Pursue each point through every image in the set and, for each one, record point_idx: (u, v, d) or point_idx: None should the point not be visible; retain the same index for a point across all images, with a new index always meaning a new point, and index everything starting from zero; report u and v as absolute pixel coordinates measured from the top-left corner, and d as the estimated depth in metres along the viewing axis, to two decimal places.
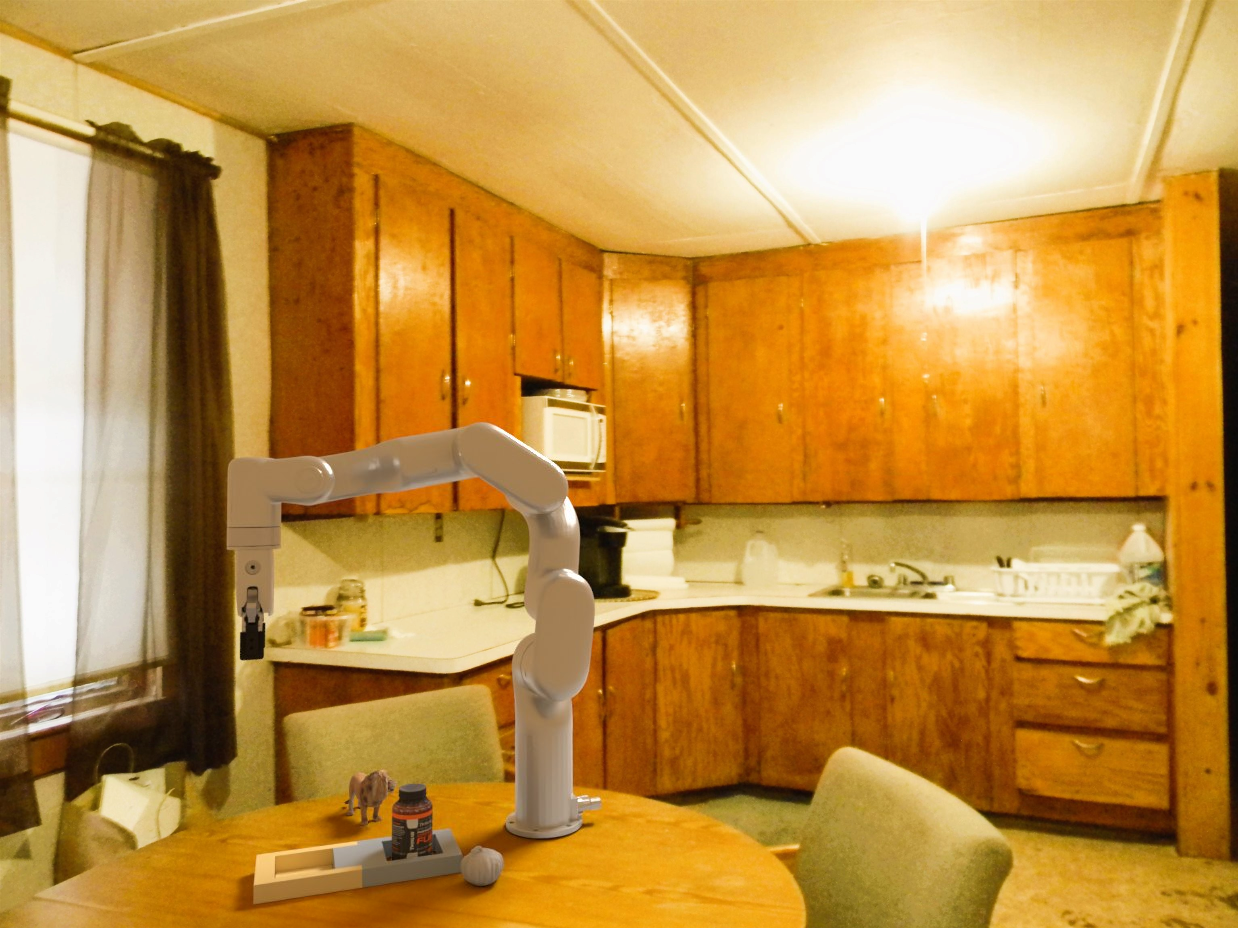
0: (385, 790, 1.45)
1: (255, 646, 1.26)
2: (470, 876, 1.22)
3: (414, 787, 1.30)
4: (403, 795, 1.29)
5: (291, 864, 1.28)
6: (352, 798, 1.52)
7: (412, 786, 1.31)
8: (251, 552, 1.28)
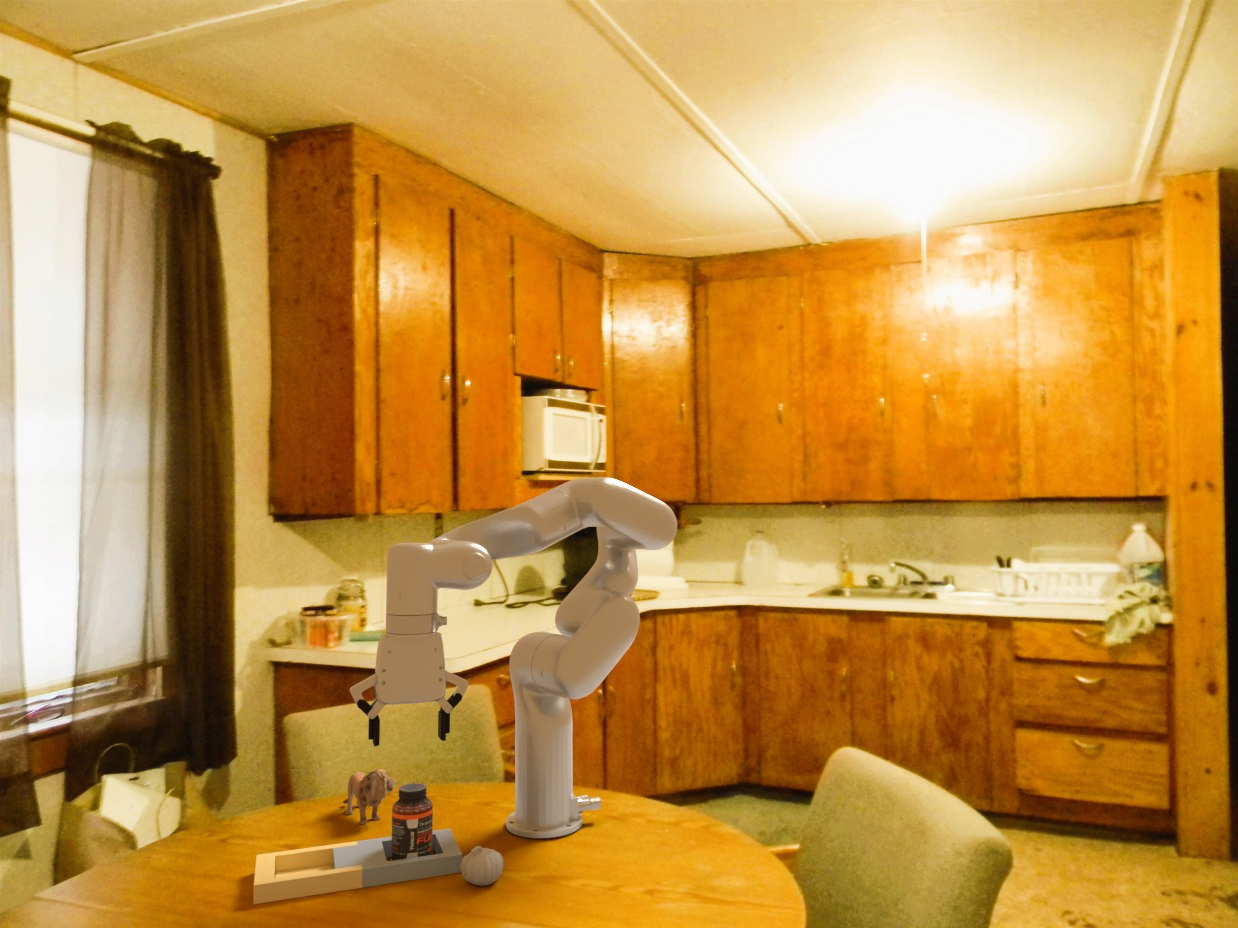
0: (384, 789, 1.46)
1: None
2: (470, 876, 1.22)
3: (414, 787, 1.30)
4: (403, 795, 1.29)
5: (291, 864, 1.28)
6: (351, 797, 1.52)
7: (412, 786, 1.31)
8: None
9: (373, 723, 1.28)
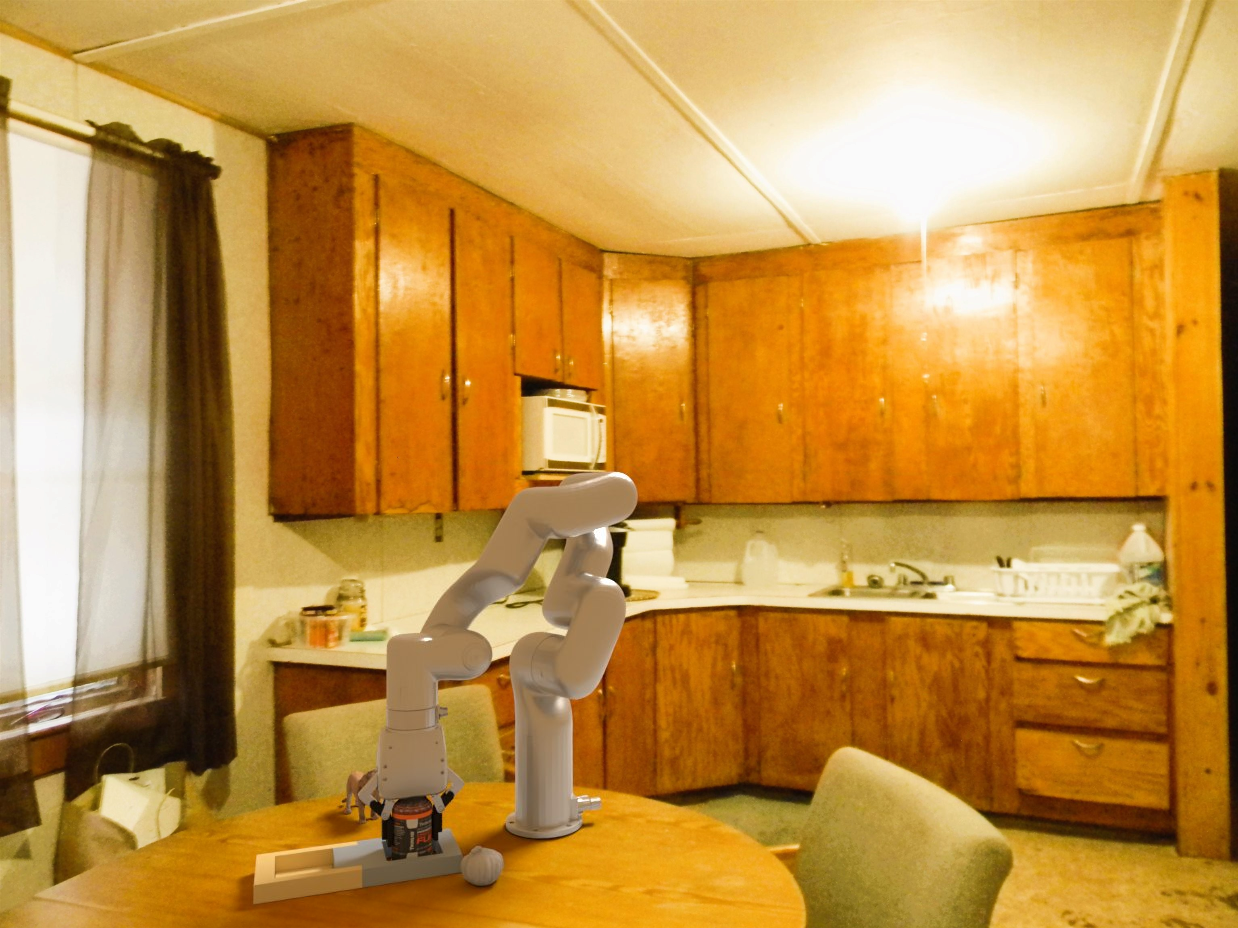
0: None
1: None
2: (470, 876, 1.22)
3: None
4: None
5: (291, 864, 1.28)
6: (349, 797, 1.53)
7: None
8: None
9: (386, 824, 1.28)
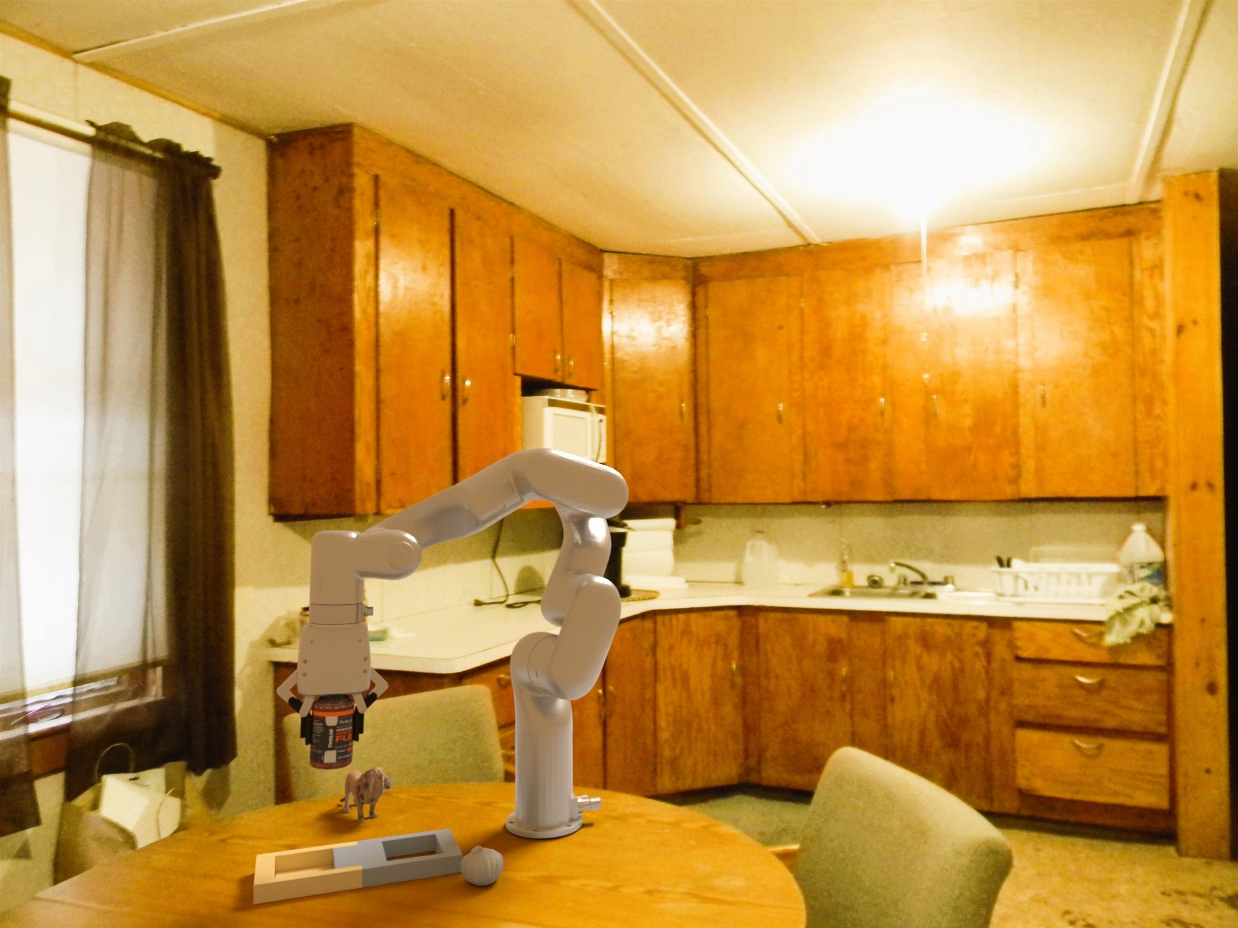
0: (382, 787, 1.47)
1: None
2: (470, 876, 1.22)
3: None
4: None
5: (291, 864, 1.28)
6: (348, 796, 1.53)
7: None
8: None
9: (305, 721, 1.25)
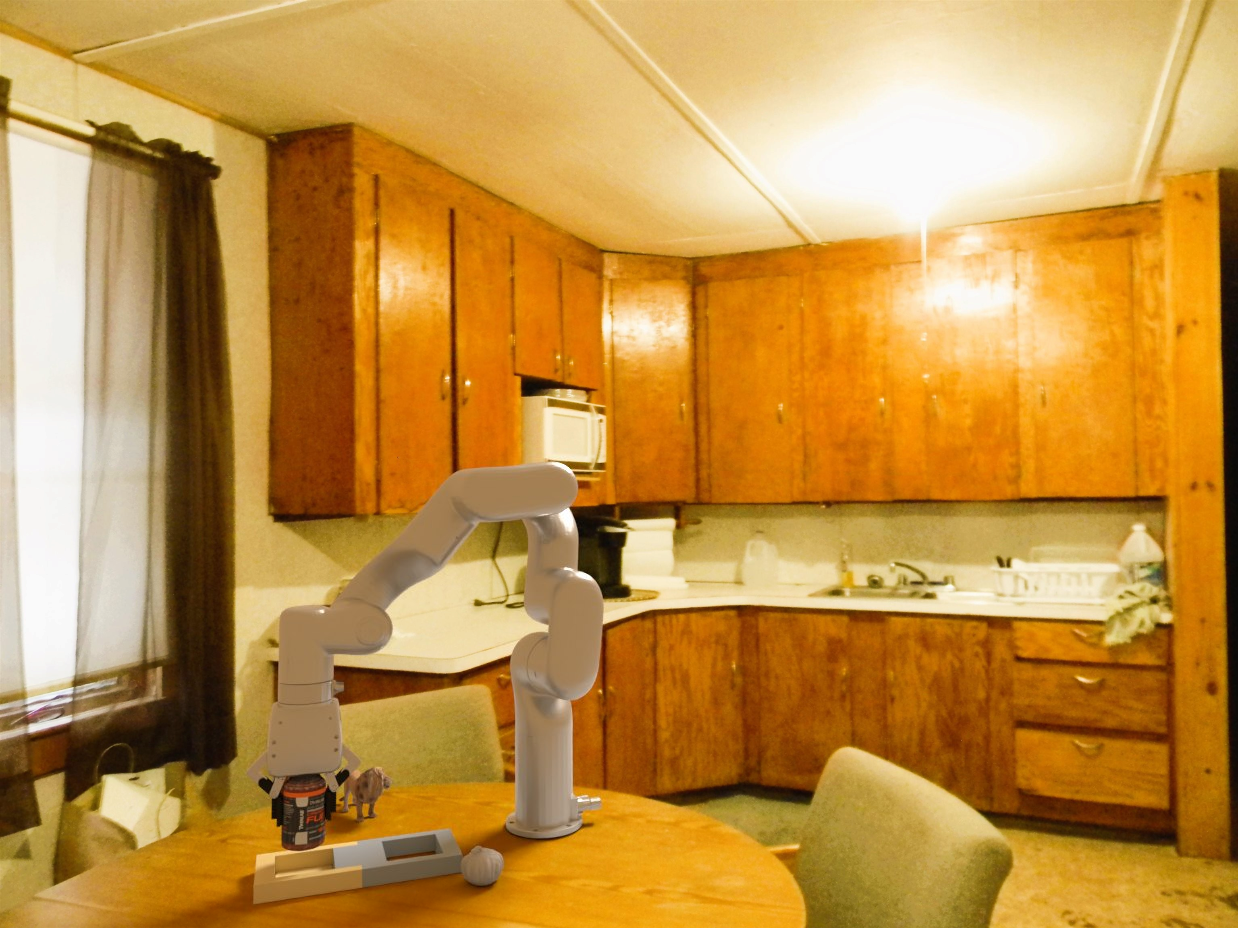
0: (381, 787, 1.47)
1: None
2: (470, 876, 1.22)
3: None
4: None
5: (291, 864, 1.28)
6: (347, 795, 1.53)
7: None
8: (336, 703, 1.27)
9: (275, 802, 1.23)
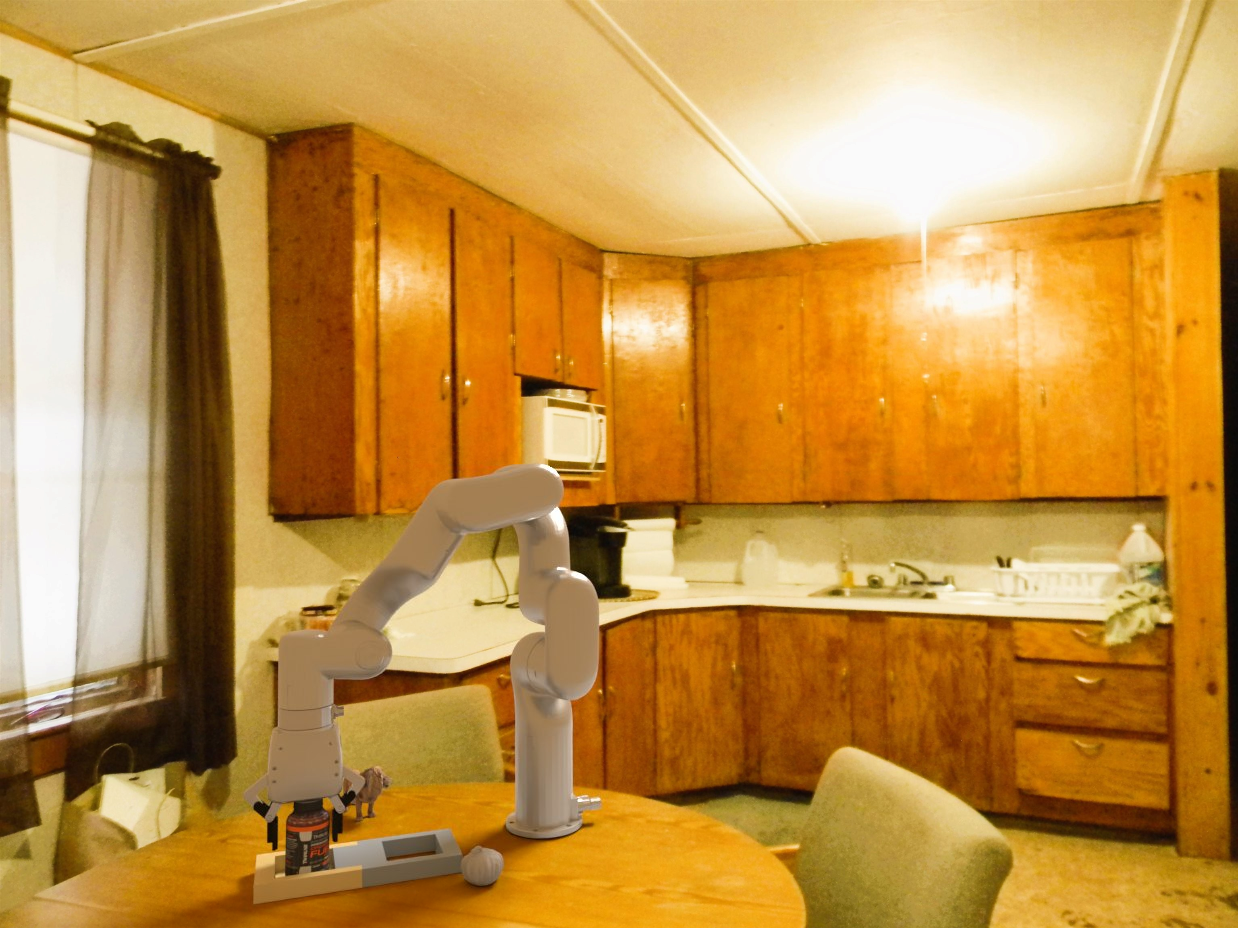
0: (380, 786, 1.47)
1: None
2: (470, 876, 1.22)
3: None
4: (297, 806, 1.24)
5: None
6: None
7: None
8: None
9: (271, 826, 1.23)
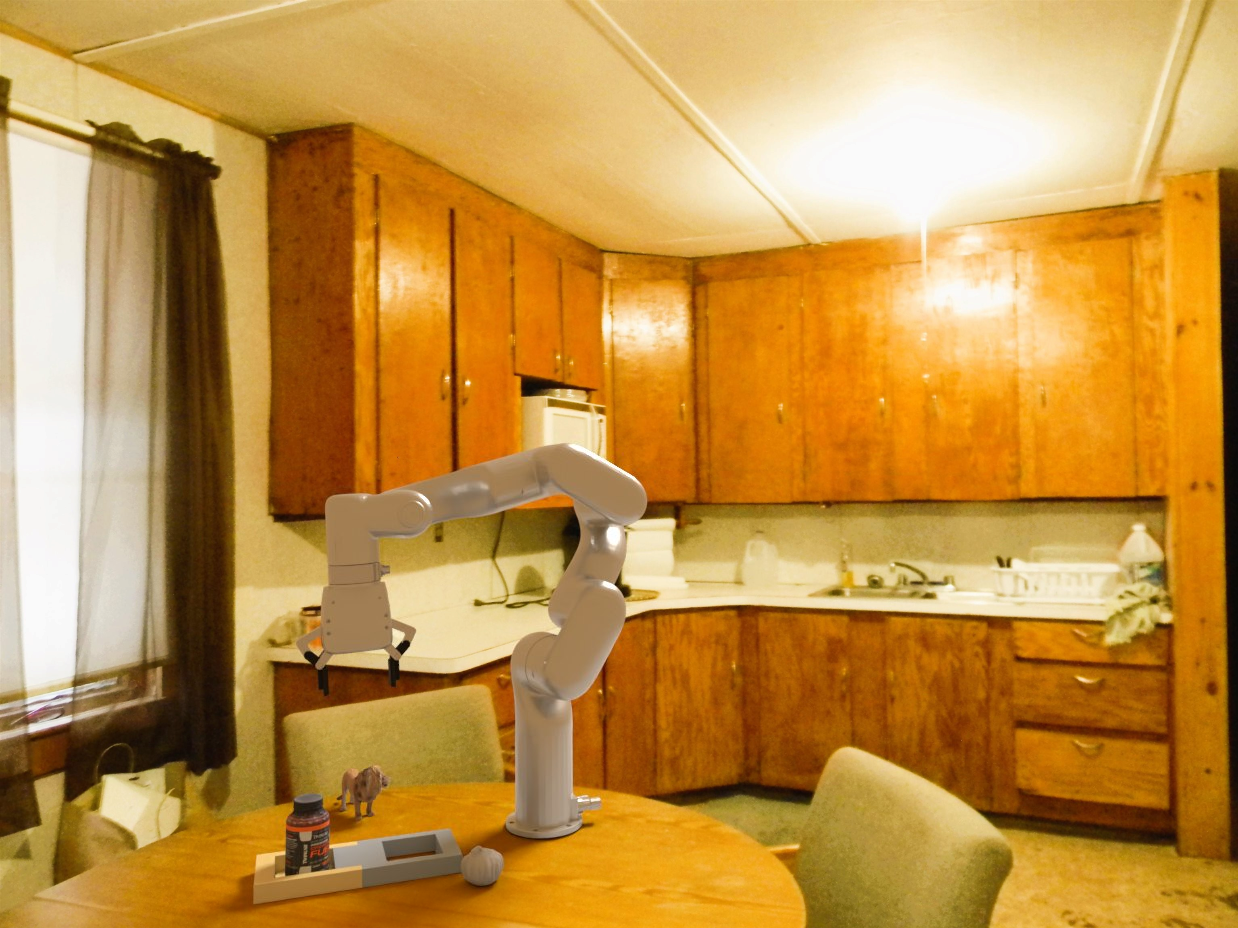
0: (379, 785, 1.48)
1: None
2: (470, 876, 1.22)
3: (309, 797, 1.25)
4: (297, 806, 1.24)
5: None
6: (345, 794, 1.54)
7: (308, 796, 1.26)
8: None
9: (321, 674, 1.29)
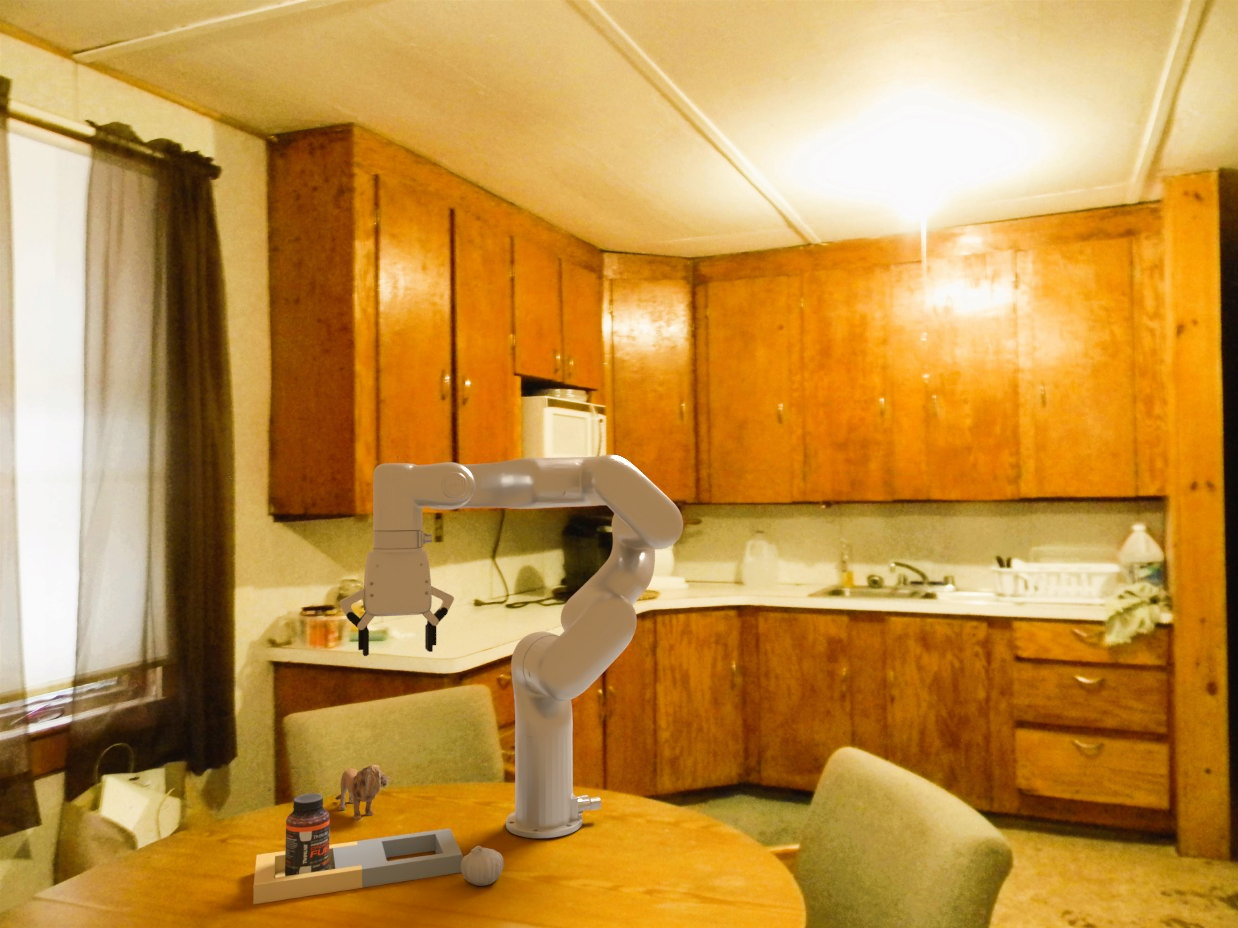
0: (378, 785, 1.48)
1: None
2: (470, 876, 1.22)
3: (309, 797, 1.25)
4: (297, 806, 1.24)
5: None
6: (344, 793, 1.54)
7: (308, 796, 1.26)
8: None
9: (362, 634, 1.34)
